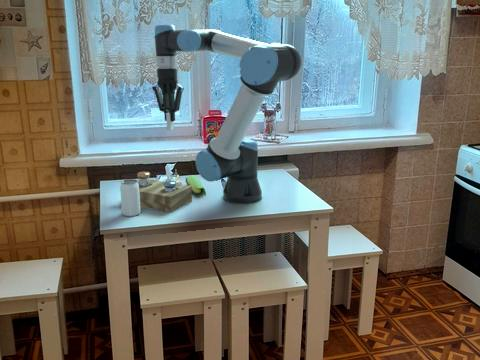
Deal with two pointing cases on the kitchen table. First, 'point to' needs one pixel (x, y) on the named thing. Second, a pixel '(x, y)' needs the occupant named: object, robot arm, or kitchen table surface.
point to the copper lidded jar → (143, 179)
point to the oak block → (164, 196)
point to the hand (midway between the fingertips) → (170, 129)
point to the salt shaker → (170, 186)
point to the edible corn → (195, 185)
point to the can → (130, 197)
